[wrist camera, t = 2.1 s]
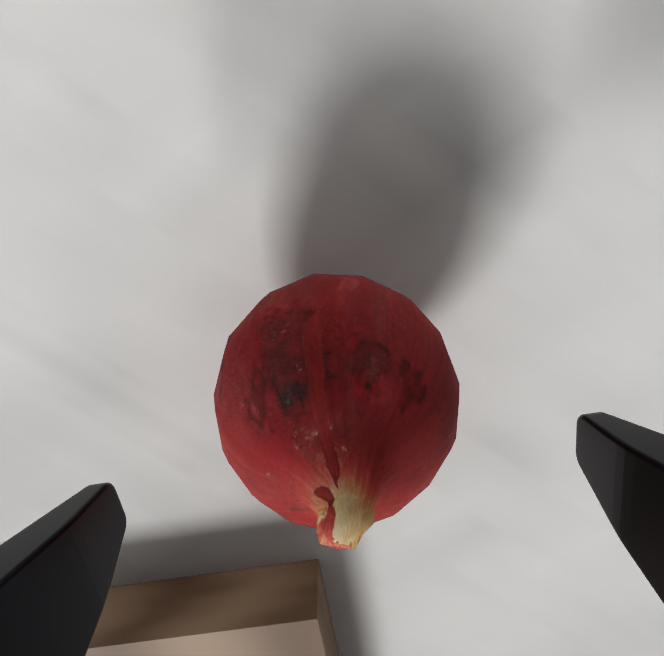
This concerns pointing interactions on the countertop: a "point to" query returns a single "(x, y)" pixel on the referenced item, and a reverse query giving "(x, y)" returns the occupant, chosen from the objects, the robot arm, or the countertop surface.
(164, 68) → the countertop surface
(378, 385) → the red round fruit
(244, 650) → the walnut block
